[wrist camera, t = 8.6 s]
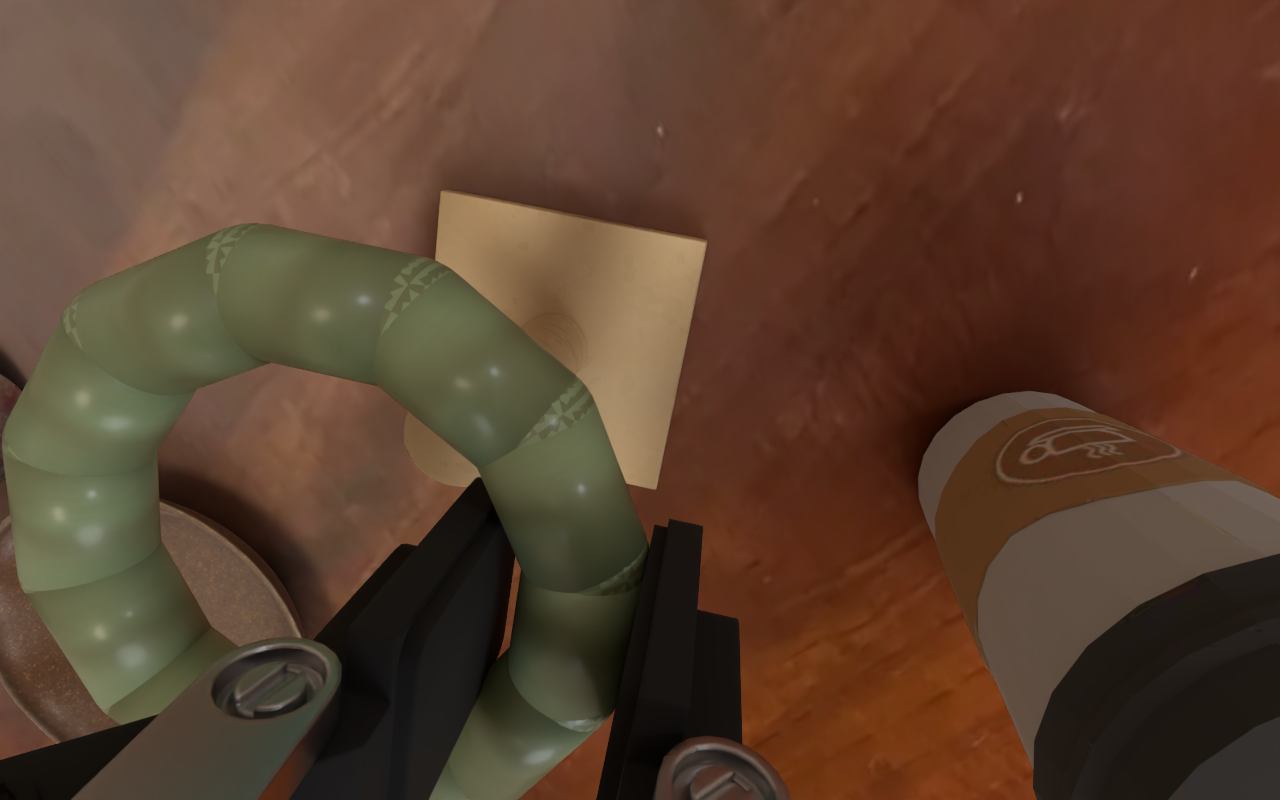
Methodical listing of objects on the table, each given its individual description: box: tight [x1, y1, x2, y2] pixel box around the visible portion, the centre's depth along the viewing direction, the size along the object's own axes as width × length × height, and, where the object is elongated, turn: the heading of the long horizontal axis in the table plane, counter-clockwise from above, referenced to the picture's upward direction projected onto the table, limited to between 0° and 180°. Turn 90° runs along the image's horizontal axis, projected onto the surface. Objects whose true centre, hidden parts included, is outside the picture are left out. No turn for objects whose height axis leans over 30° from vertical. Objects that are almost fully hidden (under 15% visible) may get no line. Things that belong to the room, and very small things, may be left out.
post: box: [403, 190, 708, 489], centre depth 20 cm, size 9×9×10 cm
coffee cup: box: [918, 391, 1280, 800], centre depth 17 cm, size 8×8×15 cm
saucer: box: [0, 498, 306, 744], centre depth 29 cm, size 15×15×3 cm
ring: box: [2, 223, 649, 800], centre depth 10 cm, size 10×10×2 cm
